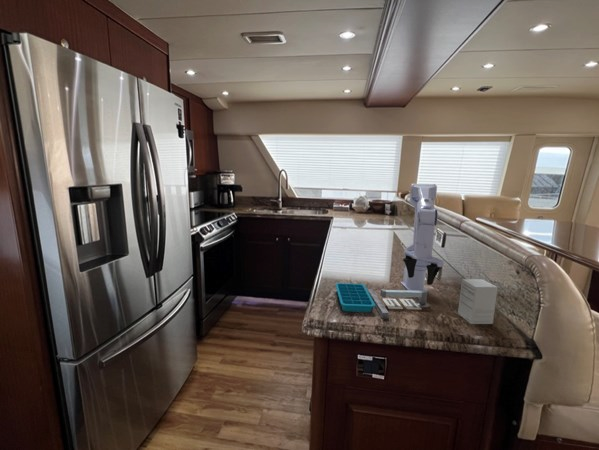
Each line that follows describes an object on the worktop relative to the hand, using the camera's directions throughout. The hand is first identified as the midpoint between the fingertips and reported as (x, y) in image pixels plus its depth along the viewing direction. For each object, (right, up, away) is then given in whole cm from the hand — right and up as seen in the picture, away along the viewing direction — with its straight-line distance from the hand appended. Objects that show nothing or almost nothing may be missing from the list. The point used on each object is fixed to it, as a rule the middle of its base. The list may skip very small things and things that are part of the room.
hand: (420, 280), depth 100 cm
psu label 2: (-3, -9, +3) cm, 10 cm away
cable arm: (-5, -9, +2) cm, 10 cm away
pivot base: (+2, -9, +3) cm, 10 cm away
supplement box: (+15, -12, -7) cm, 20 cm away
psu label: (-9, -9, +2) cm, 13 cm away
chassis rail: (-15, -9, +1) cm, 18 cm away
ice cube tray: (-23, -9, +5) cm, 25 cm away
